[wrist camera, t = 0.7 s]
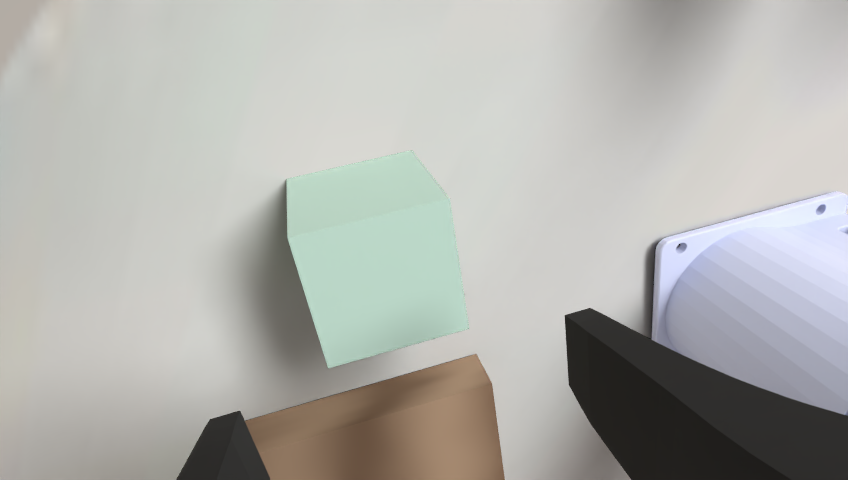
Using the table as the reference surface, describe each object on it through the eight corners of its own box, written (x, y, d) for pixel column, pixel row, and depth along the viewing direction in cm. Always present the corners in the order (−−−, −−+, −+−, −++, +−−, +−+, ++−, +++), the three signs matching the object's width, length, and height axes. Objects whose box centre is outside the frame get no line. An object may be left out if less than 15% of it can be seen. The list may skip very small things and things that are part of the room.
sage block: (411, 149, 19) (449, 198, 15) (430, 257, 21) (469, 328, 17) (286, 178, 19) (287, 238, 14) (318, 286, 21) (327, 368, 16)
